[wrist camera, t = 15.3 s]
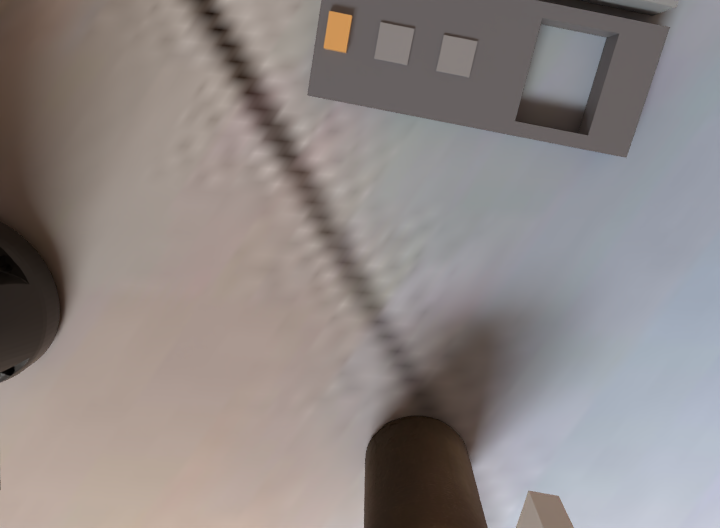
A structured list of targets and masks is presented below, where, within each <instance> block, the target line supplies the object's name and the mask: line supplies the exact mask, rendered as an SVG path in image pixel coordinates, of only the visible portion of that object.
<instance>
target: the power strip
mask: <svg viewBox="0 0 720 528" xmlns="http://www.w3.org/2000/svg"><path fill="white" fill-rule="evenodd" d="M541 24H543V25H548V26H553V27H558V28H563V29H568V30H573V31H578V32H583V33H587V34H592V35H597V36H602V37H607V39H606V43H605V46H604V49H603V52H602V56H601V59H600V62H599V66H598V69H597V72H596V76H595V79H594V82H593V86H592V89H591V92H590V96H589V99H588V102H587V105H586V109H585V112H584V115H583V119H582V122H581V125H580V129H579V132H578V133H573V132H568V131H563V130H558V129H553V128H548V127H542V126H537V125H532V124H527V123H522V122H517V121H515V119H516V116H517V112H518V108H519V104H520V101H521V97H522V93H523V89H524V86H525V82H526V78H527V74H528V70H529V67H530V63H531V59H532V55H533V52H534V48H535V44H536V40H537V37H538V33H539V29H540V25H541ZM669 28H670V27H666V26H661V25H656V24H651V23H646V22H642V21H637V20H632V19H627V18H622V17H617V16H612V15H607V14H602V13H597V12H592V11H587V10H582V9H578V8H573V7H568V6H563V5H558V4H553V3H548V2H543V1H538V0H322V1H321V8H320V14H319V21H318V28H317V35H316V41H315V48H314V55H313V61H312V68H311V75H310V81H309V88H308V95H309V96H314V97H319V98H325V99H330V100H335V101H340V102H345V103H350V104H355V105H360V106H365V107H371V108H376V109H381V110H386V111H391V112H396V113H401V114H406V115H411V116H416V117H422V118H427V119H432V120H437V121H442V122H447V123H452V124H457V125H462V126H468V127H473V128H478V129H483V130H488V131H493V132H498V133H503V134H508V135H514V136H519V137H524V138H529V139H534V140H539V141H544V142H549V143H554V144H560V145H565V146H570V147H575V148H580V149H585V150H590V151H595V152H600V153H605V154H611V155H616V156H621V157H627V154H628V151H629V148H630V145H631V142H632V139H633V136H634V133H635V130H636V127H637V124H638V121H639V118H640V115H641V112H642V109H643V106H644V103H645V100H646V97H647V94H648V91H649V88H650V85H651V82H652V79H653V76H654V73H655V70H656V67H657V64H658V61H659V58H660V55H661V52H662V49H663V46H664V43H665V40H666V37H667V34H668V31H669Z"/></svg>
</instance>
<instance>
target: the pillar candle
mask: <svg viewBox="0 0 720 528" xmlns="http://www.w3.org/2000/svg"><path fill="white" fill-rule="evenodd" d="M364 528H488V527H487V524H486V520H485V516H484V512H483V509H482V505H481V501H480V497H479V493H478V489H477V485H476V482H475V478H474V474H473V470H472V466H471V462H470V459H469V457H468V453H467V450H466V446H465V443H464V441H463V440H462V439H461V438H460V436H459V435H458V434H457V433H456V432H455V431H454V430H453V429H452V428H451V427H450V426H448V425H447V424H445V423H443V422H441V421H439V420H437V419H433V418H430V417H424V416H419V417H418V416H410V417H404V418H401V419H398V420H394V421H392V422H390V423H388V424H386V425H384V426H383V428H382V429H380V430H379V432H378V433H377V434H375V435H374V436H373V437H372V439H371V441H370V443H369V445H368V447H367V451H366V458H365V498H364Z"/></svg>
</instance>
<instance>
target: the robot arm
mask: <svg viewBox="0 0 720 528" xmlns="http://www.w3.org/2000/svg"><path fill="white" fill-rule="evenodd" d="M59 317H60V305H59V297H58V292H57V289H56V285H55V282H54V280H53V277H52V275H51V273H50V271H49V269H48V267H47V266H46V264H45V262H44V261H43V259H42V258H41V257H40V255H39V254H38V253H37V251H36V250H35V249H34V248H33V247H32V246H31V245H30V244H29V243H28V242H27V241H26V240H25V239H24V238H23V237H22V236H21V235H19V234H18V233H17V232H15V231H14V230H13V229H11V228H10V227H8V226H6V225H5V224H3V223H1V222H0V382H3V381H5V380H8V379H10V378H12V377H14V376H15V375H17V374H19V373H20V372H22V371H23V370H24V369H26V368H27V367H29V366H30V365H31V364H33V363H34V362H35V361H37V360H38V359H39V358H40V357H41V356H42V355H43V354H44V353H45V352H46V351H47V349H48V348H49V346H50V345H51V343H52V341H53V340H54V337H55V335H56V332H57V329H58V324H59ZM0 490H1V482H0ZM516 528H574V527H573V525H572V523H571V521H570V519H569V517H568V515H567V513H566V510H565V508H564V506H563V504H562V502H561V500H560V498H559V496H555V495H550V494H544V493H539V492H533V491H528V494H527V497H526V500H525V503H524V506H523V509H522V511H521V514H520V517H519V520H518V523H517V526H516Z"/></svg>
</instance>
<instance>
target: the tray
mask: <svg viewBox="0 0 720 528" xmlns="http://www.w3.org/2000/svg"><path fill="white" fill-rule="evenodd" d="M580 1H585V2H590V3H595V4H600V5H604V6H609V7H614V8H619V9H624V10H629V11H634V12H639V13H644V14H649V15H655V14H658V13H661V12H664V11H667V10H670V9H673V8H676V7H677V4H678V1H679V0H580Z"/></svg>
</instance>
